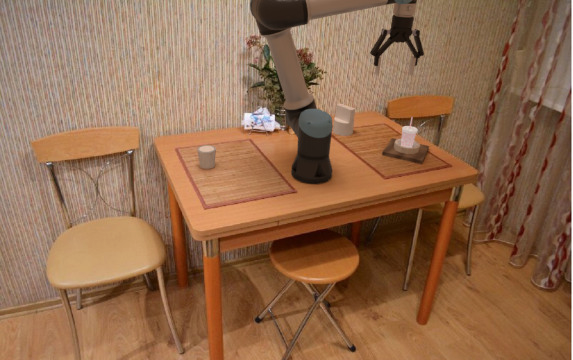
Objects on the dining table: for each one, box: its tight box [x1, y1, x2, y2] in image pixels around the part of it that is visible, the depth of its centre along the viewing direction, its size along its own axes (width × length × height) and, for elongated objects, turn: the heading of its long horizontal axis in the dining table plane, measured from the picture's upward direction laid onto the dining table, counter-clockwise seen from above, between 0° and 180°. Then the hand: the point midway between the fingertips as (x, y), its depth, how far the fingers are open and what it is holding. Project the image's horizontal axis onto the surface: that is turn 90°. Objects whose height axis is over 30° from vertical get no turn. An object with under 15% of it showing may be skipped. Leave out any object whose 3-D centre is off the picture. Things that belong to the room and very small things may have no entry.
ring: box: [394, 137, 421, 154], centre depth 185 cm, size 10×10×2 cm
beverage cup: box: [401, 116, 418, 147], centre depth 182 cm, size 6×6×14 cm
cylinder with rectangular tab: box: [332, 103, 356, 137], centre depth 200 cm, size 9×9×12 cm
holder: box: [382, 137, 430, 165], centre depth 186 cm, size 16×16×2 cm
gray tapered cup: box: [196, 144, 217, 170], centre depth 166 cm, size 7×7×7 cm
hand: (393, 74), depth 169 cm, fingers open, 13 cm apart
